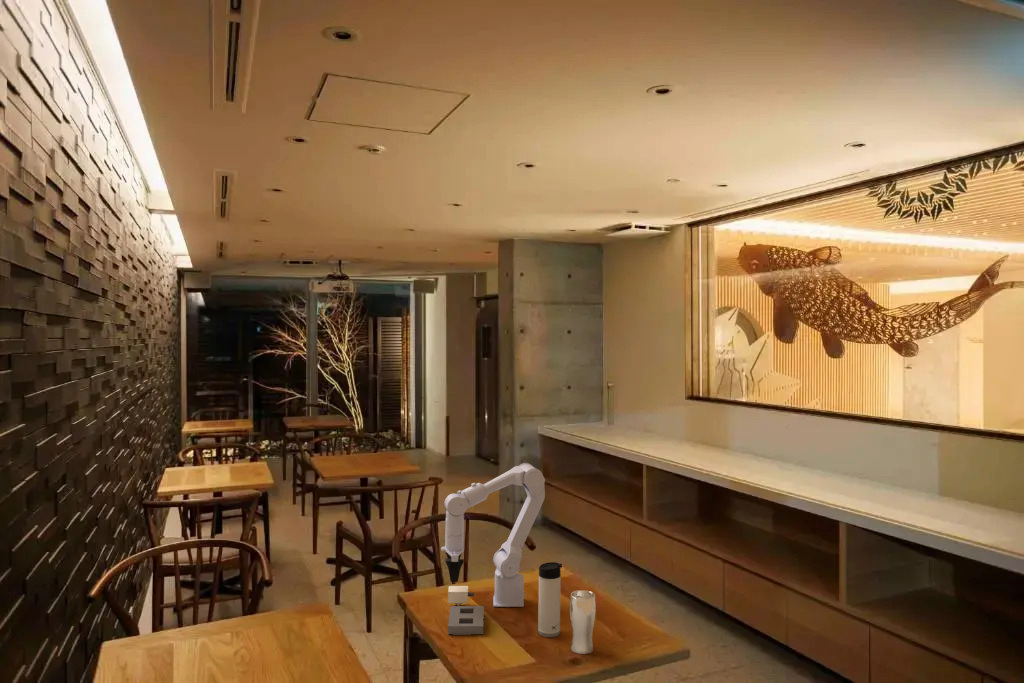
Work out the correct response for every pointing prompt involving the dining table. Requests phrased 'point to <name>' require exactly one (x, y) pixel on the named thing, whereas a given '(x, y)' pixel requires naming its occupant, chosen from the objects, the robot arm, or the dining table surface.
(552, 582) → the travel mug
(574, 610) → the beer glass
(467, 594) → the plug
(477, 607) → the socket plate
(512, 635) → the dining table surface
